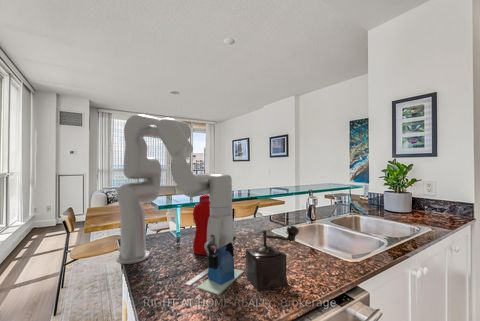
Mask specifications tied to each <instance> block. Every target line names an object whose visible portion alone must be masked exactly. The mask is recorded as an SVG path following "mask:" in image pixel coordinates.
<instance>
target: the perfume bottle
mask: <svg viewBox="0 0 480 321" xmlns="http://www.w3.org/2000/svg"><path fill="white" fill-rule="evenodd" d="M216 246H217V245H216ZM225 250H226V245H225V246H223V247H222V248H220V249H219V250H218V252H217V255H216V256H218V269H212V268H209V258H208V259H207V268H208V274H207V275H208V279H210V280H212V281H214V282H216V283H217V284H219V285H222V284H224V283H226V282H228V281H230V280H231V279H233V278H235V277H234V269H235V258H234V257H232V255H231V254H230V252H228V251H225Z"/></svg>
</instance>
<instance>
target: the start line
mask: <svg viewBox="0 0 480 321" xmlns="http://www.w3.org/2000/svg"><path fill="white" fill-rule="evenodd" d="M207 275H208V267H207V268H206V269H205V270H203V271H201V272H200V273H198V274H197V275H195V276H194V277H192V278H191V279H190V280H188V281H186V282H185V283H184V285H186V286H188V287H190V286H192V285H193V284H195V283H196V282H198V281H199V280H200V279H202V278H203V277H205V276H207Z"/></svg>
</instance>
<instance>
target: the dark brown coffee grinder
mask: <svg viewBox="0 0 480 321" xmlns="http://www.w3.org/2000/svg"><path fill="white" fill-rule="evenodd" d="M286 232H287V236H286V237H283V236H276V235H269V234H267V229H263V230H262V233H263V234H262V237H263V245H259V246H258V247H252V248H247V249H245V277H246V279H247V280H248V281H249V283H251V284H252V286H253V287H254V288H255V289H256V290H257V291H258V292H263V291H268V290H273V289H276V288H279V287H283V286H285V285H287V284H288V280H287V279H288V278H287V273H288V272H287V270H288V269H287V255H286V254H285V253H284V252H282V251H281V250H279V249H277V248H276V247H274V246H273V245H267V239H274V240H275V239H276V240H281V241H285V242H287V241H288V242H295V241H296V236H297V235H298V234H299V232H300V230H299V228H298V227H297V226H295V225H288V226H287V227H286Z"/></svg>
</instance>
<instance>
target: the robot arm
mask: <svg viewBox="0 0 480 321" xmlns="http://www.w3.org/2000/svg"><path fill="white" fill-rule="evenodd" d="M123 136H124V137H123V138H124V156H123V158H124V159H123V174H124V177H125V178H127V179H130V180H143V181H133V182H132V181H131V182H127V183H124V184H122V185H121V186H119V188H118V189H117V192H116V193H117V201H118V205H119V206H118V207H119V215H120V216H119V218H120V223H119V224H120V246H118V247H117V249H116V250H117V251H118V252H119V255H117V257H116V261H115V262H117V263H118V264H121V265H131V264H136V263H140V262H143V261H145V260H146V259H148V258H149V257H150V256H151V254H150V251H149V250H147V248H146V247H147V246H146V244H147V243H146V240H147V239H146V235H147V234H146V232H147V230H146V229H147V228H146V213H145V210H144V209H143V207H142V204H146V203H151V202H154V201H156V200H157V199H158V198H159V196H160V190H161V180H162V179H161V178H162V165H161V163H160V161H159V159H157V158H155V157H153V156H148V145H147V142H146V140H145V138H144V137H146V138H151V139H152V138H154V139H159V140H160V141H161V142H162V143H163V145H164V147H165V148H166V150H167V151H168V153H169V155H170V157H171V162H170V170H171V171H170V172H171V176H172V179H173V180H174V182H175V184H176V186H177V187H178V189H179V191H180V192H181V193H182V194H183V195H184V196H186V197H188V198H195V197H200V196H203V195H209V202H210V217H209V219H208V226H207V242H206V243H205V245H204V248H205V250H206V253H207V255H206V256H208V259H209V268H212V269H218V256H216V255H217V252H218V250H219V249H220V248H222V247H223V246H225V245H226V250H225V251H228V252H230V254H231V255H232V257H233V258H234V257H235V256H234V251H235V250H234V249H235V248H234V246H235V239H236V230H235V229H234V219H233V189H232V188H233V186H232V185H233V181H232V180H233V179H232V176H231V174H226V173H224V174H223V173H219V174H218V173H217V174H213V173H207V172H206V173H193V171H192V170H191V167H190V166H189V164H188V162H187V158H188V157H190V155H191V154H192V153H193V150H194V147H193V145H192V144H191V141H189V139H190V138H191V136H192V130H191V127H190V125H189V124H188V123H187V122H185V121H183V120H178V119H175V118H171V117H164V118H159V117H154V116H150V115H146V114H134V115H131V116H129V118H127V120H126V121H125V123H124V127H123ZM214 245H217V246H214ZM213 248H214V249H215V251H214V252H213V251H212V249H213Z"/></svg>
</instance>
